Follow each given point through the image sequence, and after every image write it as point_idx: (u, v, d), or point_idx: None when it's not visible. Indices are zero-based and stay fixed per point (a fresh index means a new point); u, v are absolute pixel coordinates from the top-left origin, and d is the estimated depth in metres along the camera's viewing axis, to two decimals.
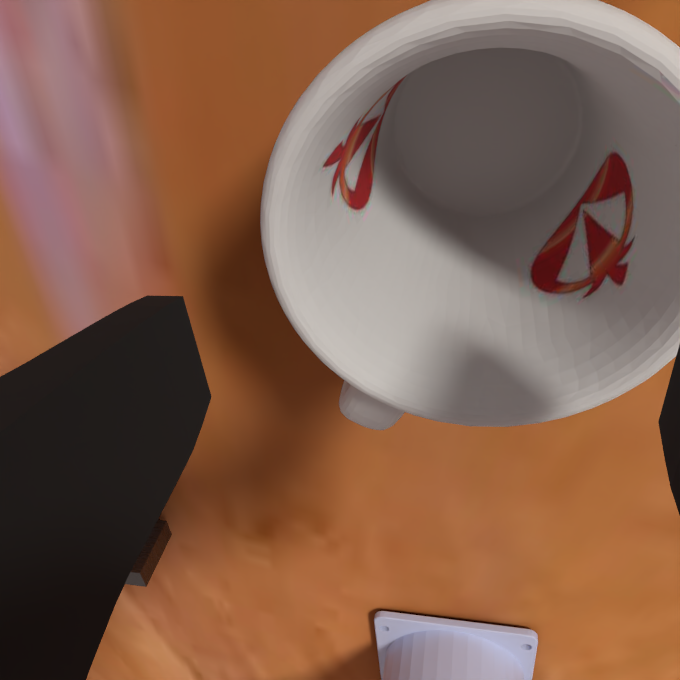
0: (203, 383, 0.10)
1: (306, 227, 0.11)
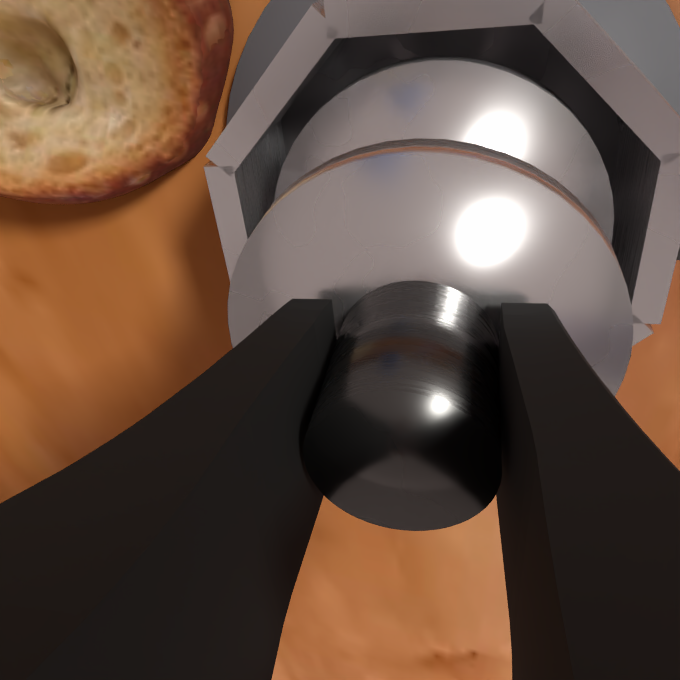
0: None
1: None
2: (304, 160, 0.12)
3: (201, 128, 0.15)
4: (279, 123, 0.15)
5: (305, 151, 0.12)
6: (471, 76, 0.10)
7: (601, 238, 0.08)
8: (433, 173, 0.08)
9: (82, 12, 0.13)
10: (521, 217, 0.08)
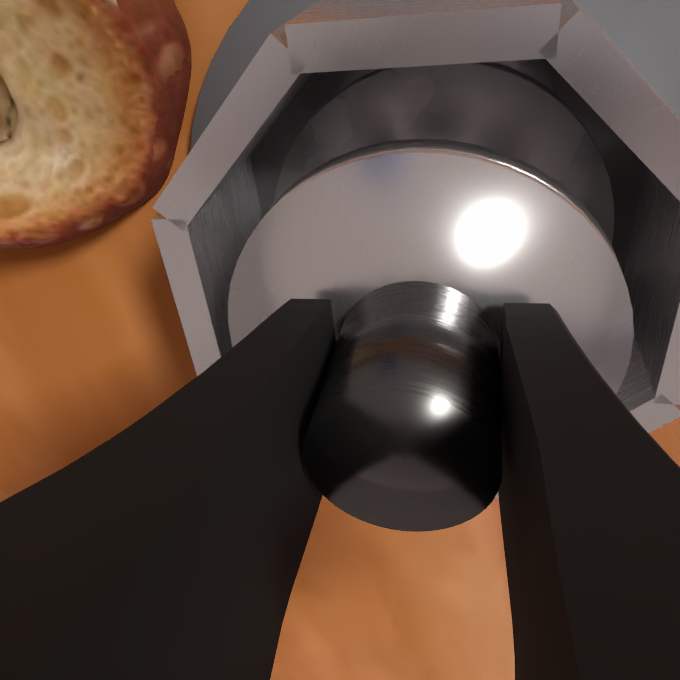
0: None
1: None
2: (304, 160, 0.12)
3: (160, 167, 0.14)
4: (248, 159, 0.13)
5: (305, 151, 0.12)
6: (471, 76, 0.10)
7: (602, 238, 0.08)
8: (434, 174, 0.08)
9: (15, 41, 0.12)
10: (521, 217, 0.08)
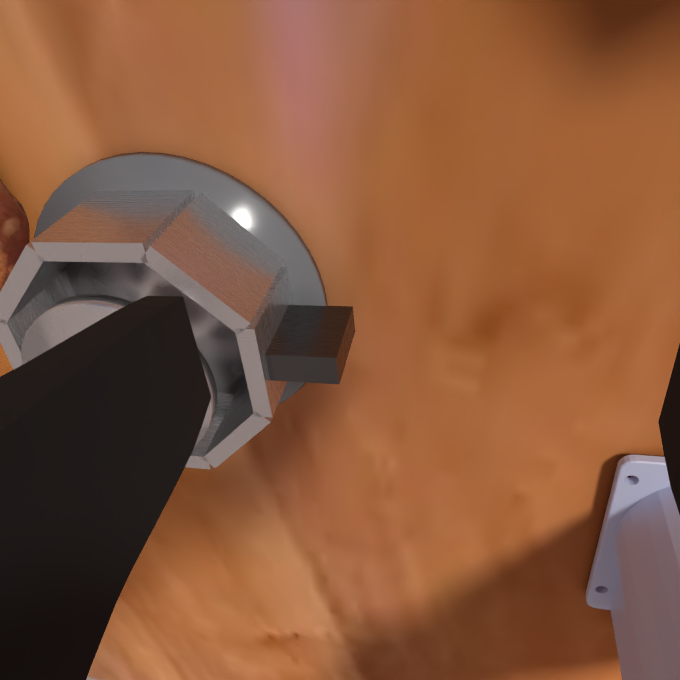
0: (203, 382, 0.10)
1: None
2: (87, 278, 0.21)
3: None
4: (63, 272, 0.22)
5: (87, 274, 0.21)
6: None
7: None
8: (95, 313, 0.17)
9: None
10: None
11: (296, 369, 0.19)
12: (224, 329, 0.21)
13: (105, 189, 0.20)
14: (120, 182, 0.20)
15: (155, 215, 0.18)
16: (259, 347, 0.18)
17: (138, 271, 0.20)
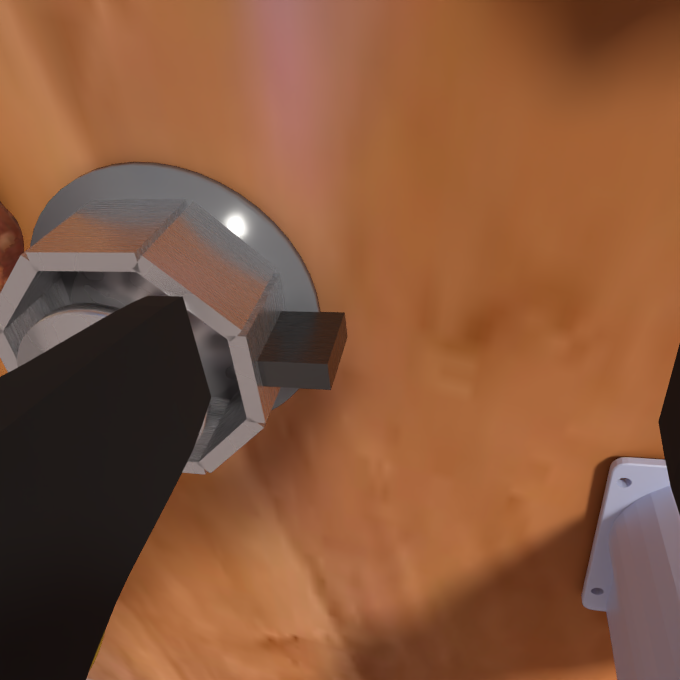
0: (203, 383, 0.10)
1: None
2: (82, 286, 0.21)
3: None
4: (59, 280, 0.22)
5: (82, 282, 0.21)
6: None
7: None
8: (88, 322, 0.17)
9: None
10: None
11: (288, 374, 0.19)
12: (218, 335, 0.21)
13: (99, 198, 0.20)
14: (113, 191, 0.20)
15: (148, 224, 0.18)
16: (251, 353, 0.18)
17: (132, 279, 0.21)
